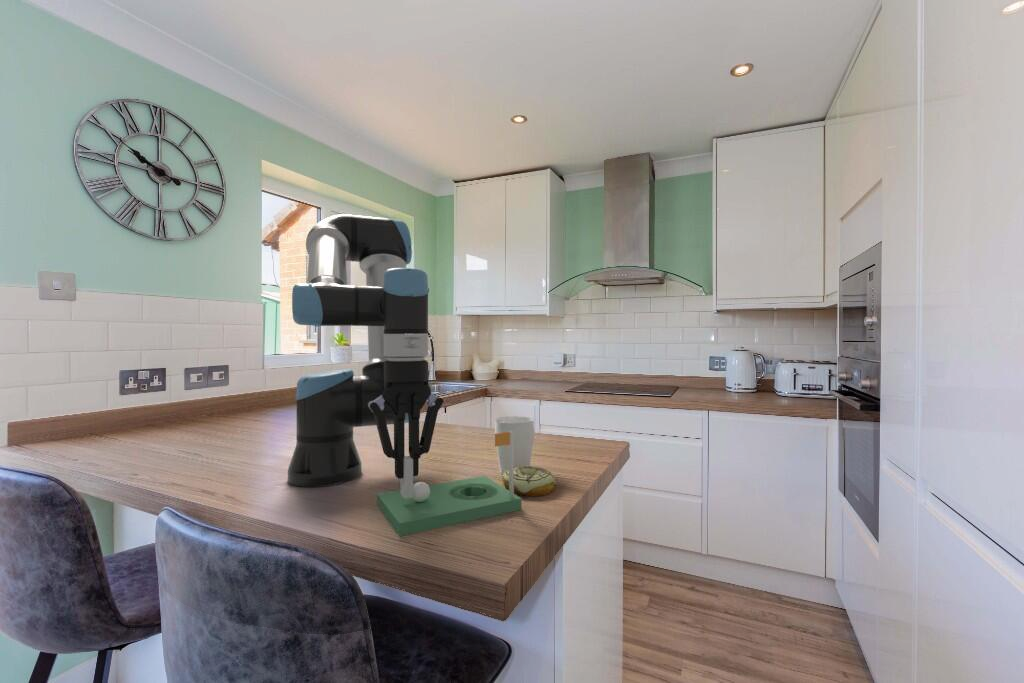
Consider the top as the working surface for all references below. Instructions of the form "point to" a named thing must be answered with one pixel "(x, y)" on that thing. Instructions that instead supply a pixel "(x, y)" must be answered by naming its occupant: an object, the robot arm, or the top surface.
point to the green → (453, 500)
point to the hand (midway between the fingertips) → (406, 495)
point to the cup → (515, 441)
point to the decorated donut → (530, 481)
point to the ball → (420, 491)
